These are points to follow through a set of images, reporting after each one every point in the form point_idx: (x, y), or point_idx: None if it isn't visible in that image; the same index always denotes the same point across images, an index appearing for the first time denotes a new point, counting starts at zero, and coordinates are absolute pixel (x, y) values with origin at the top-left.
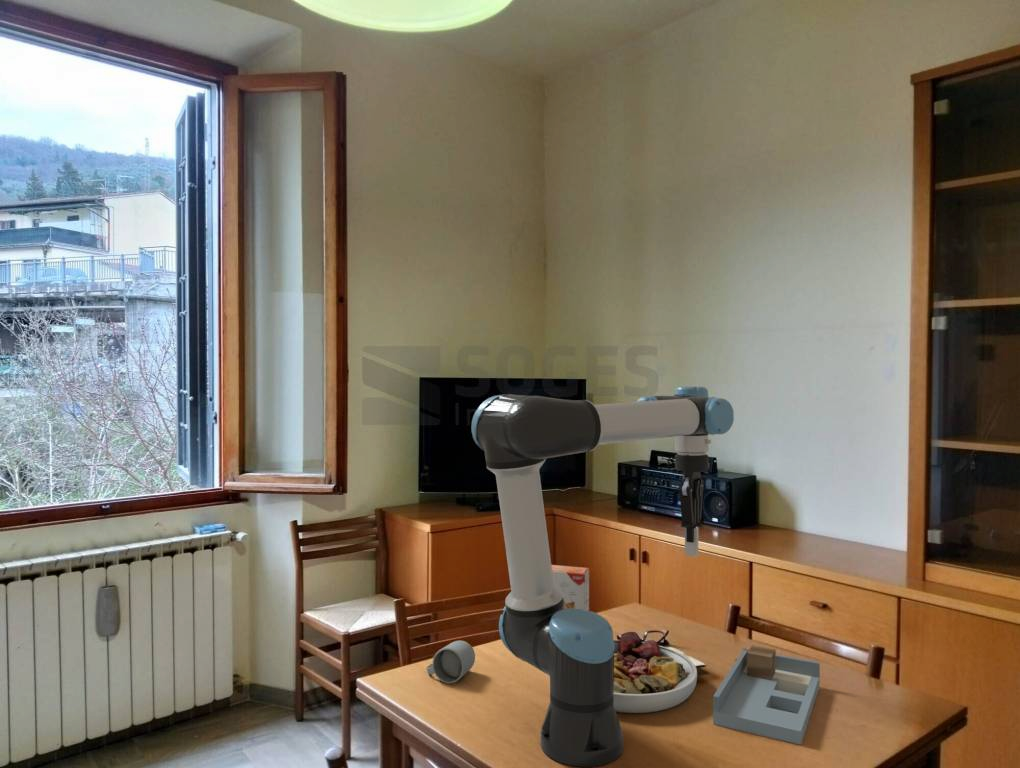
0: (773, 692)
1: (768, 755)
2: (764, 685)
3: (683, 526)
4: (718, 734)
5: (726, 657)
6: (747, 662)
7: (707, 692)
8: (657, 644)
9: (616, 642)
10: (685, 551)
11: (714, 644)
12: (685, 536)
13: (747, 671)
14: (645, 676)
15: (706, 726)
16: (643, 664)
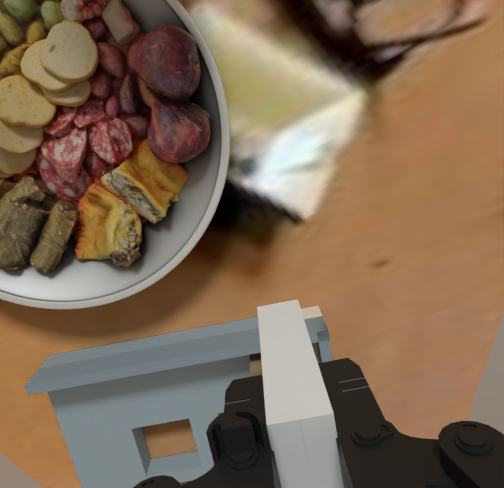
0: (204, 417)
1: (23, 457)
2: (224, 394)
3: (218, 443)
4: (23, 376)
5: (380, 240)
6: (250, 367)
7: (168, 290)
8: (187, 152)
9: (172, 10)
10: (258, 320)
11: (448, 180)
12: (264, 375)
13: (249, 356)
14: (11, 218)
15: (33, 349)
16: (123, 146)
